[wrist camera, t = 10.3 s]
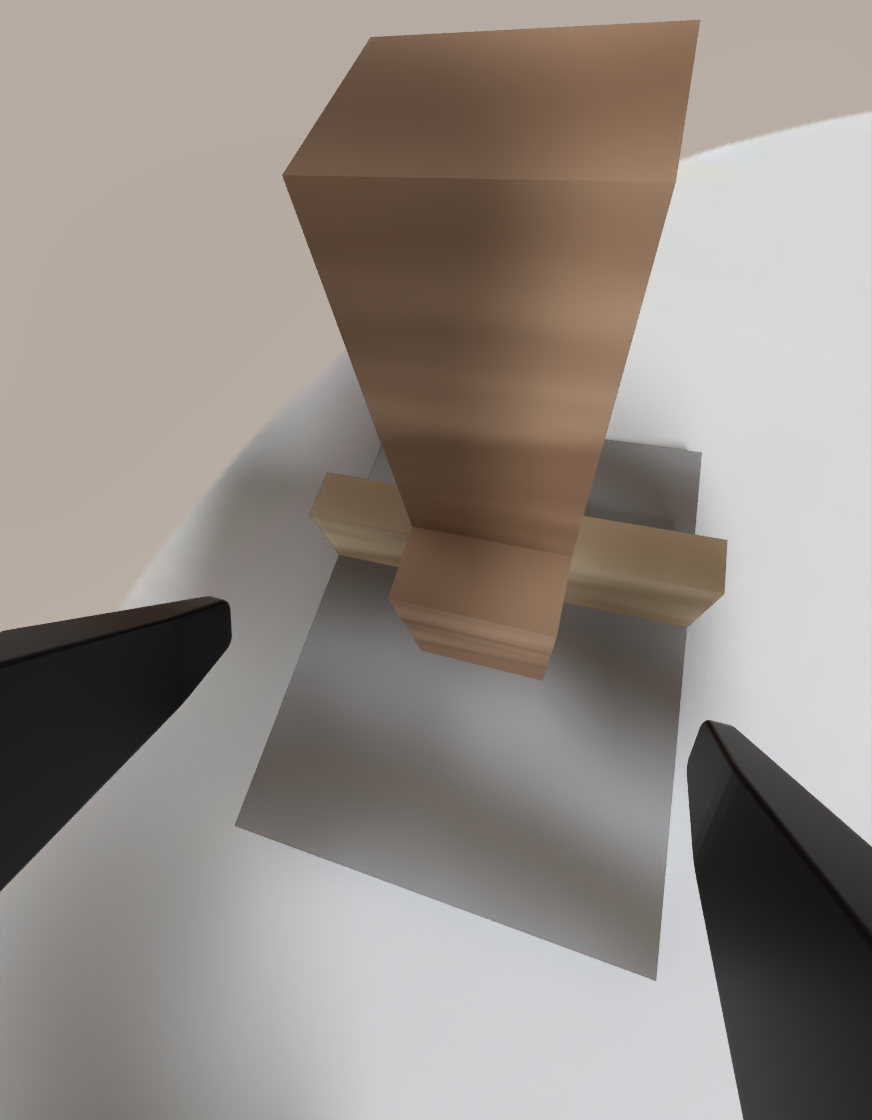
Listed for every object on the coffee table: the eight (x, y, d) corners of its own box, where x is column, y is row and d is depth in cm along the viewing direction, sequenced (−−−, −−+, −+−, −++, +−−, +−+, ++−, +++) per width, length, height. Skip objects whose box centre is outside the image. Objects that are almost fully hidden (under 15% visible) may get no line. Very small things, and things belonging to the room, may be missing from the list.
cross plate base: (645, 967, 13) (698, 1036, 9) (250, 823, 16) (173, 834, 12) (692, 468, 19) (736, 393, 15) (399, 427, 22) (377, 355, 18)
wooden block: (542, 681, 15) (650, 344, 4) (421, 650, 16) (199, 304, 5) (579, 492, 18) (712, -56, 6) (472, 475, 19) (414, -31, 7)
